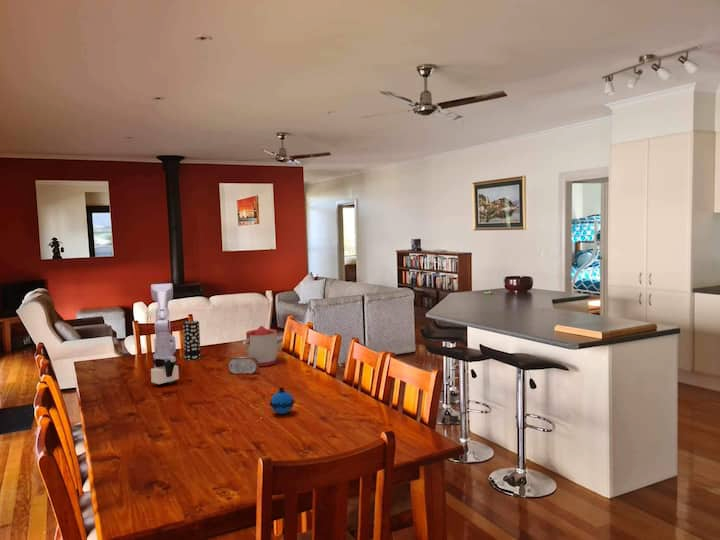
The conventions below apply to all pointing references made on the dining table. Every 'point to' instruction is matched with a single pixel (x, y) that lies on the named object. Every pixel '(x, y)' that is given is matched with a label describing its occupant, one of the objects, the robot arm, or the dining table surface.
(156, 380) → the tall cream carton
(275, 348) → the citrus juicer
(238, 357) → the tin
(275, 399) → the ornament
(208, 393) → the dining table surface
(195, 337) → the white-spotted black cylinder
